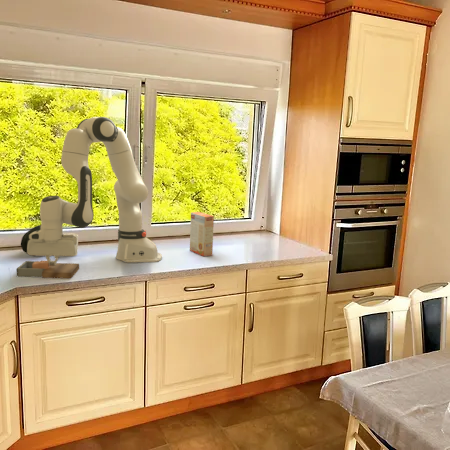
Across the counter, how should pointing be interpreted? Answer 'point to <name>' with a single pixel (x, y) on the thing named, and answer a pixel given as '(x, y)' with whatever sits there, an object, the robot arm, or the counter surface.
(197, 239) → the cracker box
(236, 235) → the counter surface
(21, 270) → the tray
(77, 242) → the white cup
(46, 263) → the tile
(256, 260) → the counter surface
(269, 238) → the counter surface
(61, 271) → the wooden board
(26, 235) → the squash
